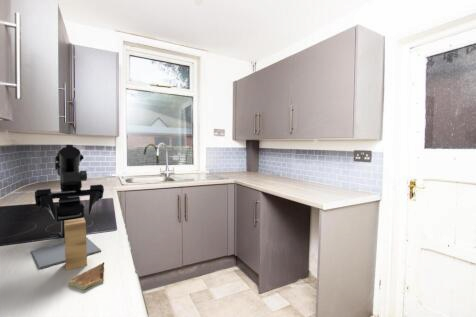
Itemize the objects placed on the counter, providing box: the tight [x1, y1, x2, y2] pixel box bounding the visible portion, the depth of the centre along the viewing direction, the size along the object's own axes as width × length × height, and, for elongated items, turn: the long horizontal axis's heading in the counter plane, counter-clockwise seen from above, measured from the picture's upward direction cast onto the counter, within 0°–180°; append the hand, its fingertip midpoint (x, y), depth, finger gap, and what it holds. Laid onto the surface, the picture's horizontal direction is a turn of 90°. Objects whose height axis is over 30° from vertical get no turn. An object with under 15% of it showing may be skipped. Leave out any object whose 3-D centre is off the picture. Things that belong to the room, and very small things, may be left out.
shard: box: [67, 262, 105, 291], centre depth 65 cm, size 11×8×2 cm
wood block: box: [64, 217, 88, 271], centre depth 72 cm, size 5×5×13 cm
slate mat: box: [30, 236, 102, 270], centre depth 80 cm, size 16×16×1 cm
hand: (73, 216), depth 77 cm, fingers open, 9 cm apart
